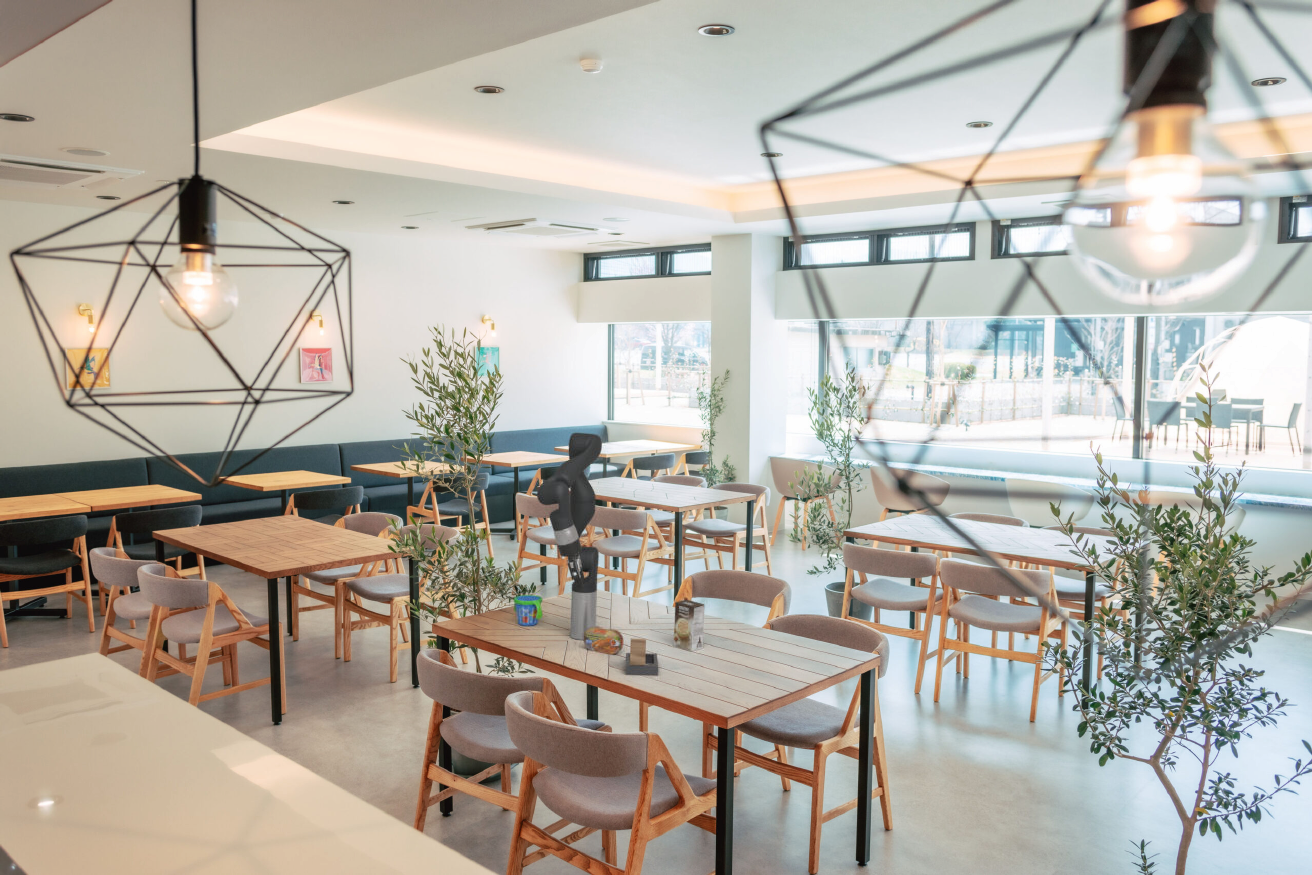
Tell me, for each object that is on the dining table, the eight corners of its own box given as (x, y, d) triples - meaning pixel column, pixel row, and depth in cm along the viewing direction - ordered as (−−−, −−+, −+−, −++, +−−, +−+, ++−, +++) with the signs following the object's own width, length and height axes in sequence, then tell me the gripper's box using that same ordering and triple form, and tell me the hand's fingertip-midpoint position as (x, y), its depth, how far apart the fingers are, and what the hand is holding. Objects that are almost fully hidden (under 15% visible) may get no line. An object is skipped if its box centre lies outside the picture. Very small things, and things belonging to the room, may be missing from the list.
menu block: (629, 666, 303) (630, 638, 303) (644, 667, 304) (645, 638, 303) (629, 670, 300) (630, 641, 299) (645, 670, 300) (645, 641, 299)
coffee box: (672, 645, 329) (674, 601, 328) (684, 642, 334) (685, 598, 333) (692, 651, 323) (693, 606, 322) (703, 648, 328) (705, 603, 327)
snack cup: (505, 621, 356) (506, 595, 355) (529, 617, 362) (530, 592, 361) (525, 630, 343) (525, 603, 343) (549, 626, 349) (550, 600, 349)
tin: (582, 649, 322) (583, 625, 321) (587, 647, 324) (588, 623, 324) (619, 656, 315) (620, 632, 314) (624, 654, 317) (625, 630, 317)
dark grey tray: (625, 661, 309) (626, 652, 309) (656, 662, 309) (656, 653, 309) (625, 674, 295) (625, 665, 295) (657, 675, 295) (658, 666, 295)
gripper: (577, 543, 298) (590, 588, 302) (579, 529, 312) (592, 573, 315) (554, 549, 298) (568, 594, 302) (558, 535, 312) (571, 578, 316)
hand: (580, 583), depth 309 cm, fingers open, 8 cm apart
